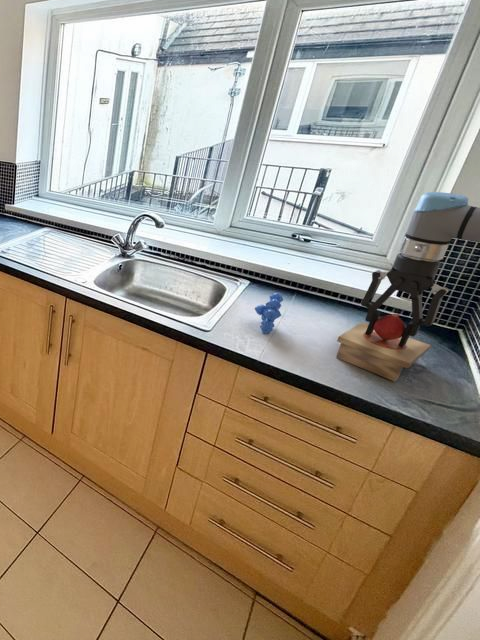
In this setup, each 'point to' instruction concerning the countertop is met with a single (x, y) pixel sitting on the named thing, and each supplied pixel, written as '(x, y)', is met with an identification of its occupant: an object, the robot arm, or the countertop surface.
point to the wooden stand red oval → (379, 352)
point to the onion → (389, 327)
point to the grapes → (269, 312)
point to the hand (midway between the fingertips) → (384, 339)
